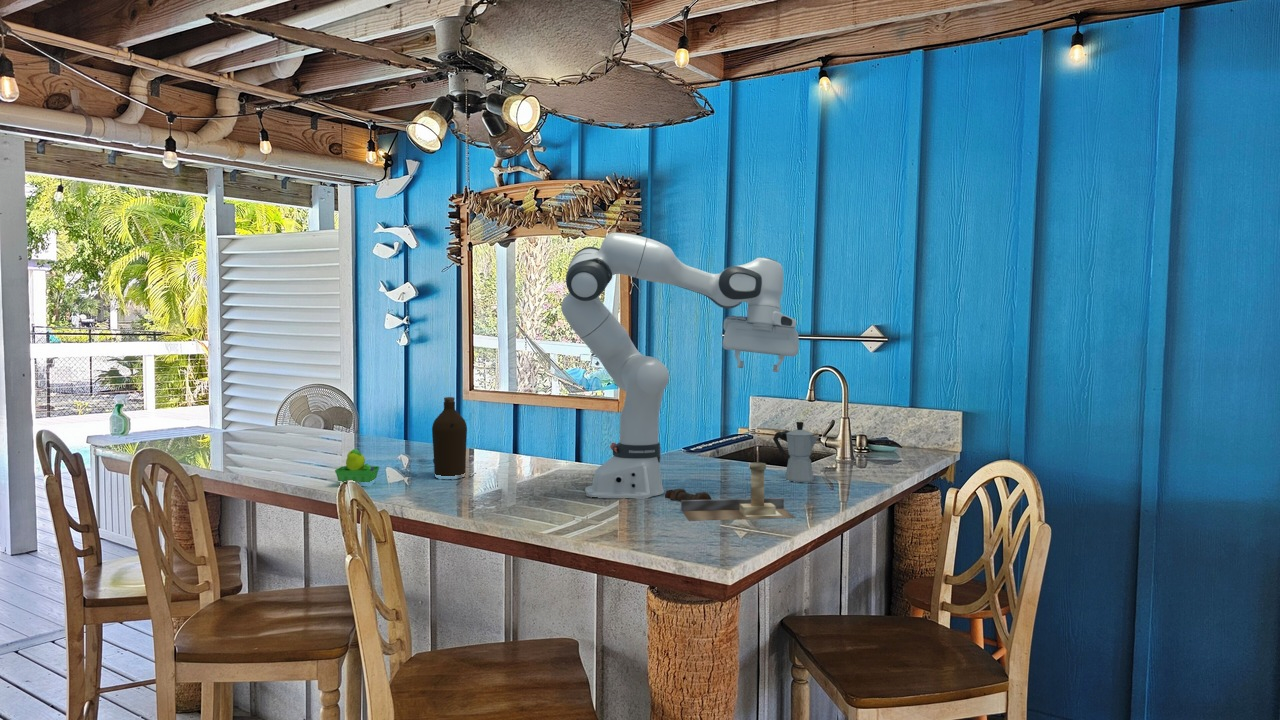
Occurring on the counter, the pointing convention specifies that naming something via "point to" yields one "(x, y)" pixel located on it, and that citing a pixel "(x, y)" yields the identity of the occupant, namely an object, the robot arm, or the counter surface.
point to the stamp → (757, 494)
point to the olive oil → (449, 441)
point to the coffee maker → (798, 453)
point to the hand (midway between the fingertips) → (757, 369)
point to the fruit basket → (356, 469)
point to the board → (728, 509)
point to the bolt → (686, 495)
